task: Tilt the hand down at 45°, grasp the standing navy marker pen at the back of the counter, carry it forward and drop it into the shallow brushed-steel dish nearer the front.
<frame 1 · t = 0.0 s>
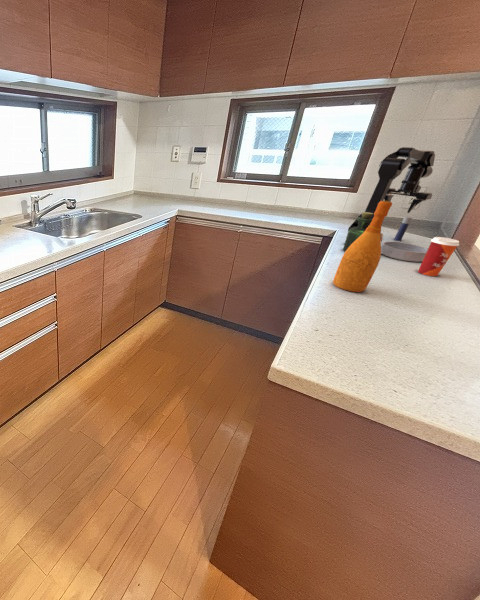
hand: (396, 211, 165), 15 cm above the worktop, tool pointing down, fingers open, 9 cm apart
paper cup: (427, 273, 129), on the worktop
marker: (397, 240, 171), on the worktop
dish: (401, 256, 147), on the worktop
wine bottle: (347, 287, 115), on the worktop
potion bottle: (350, 252, 151), on the worktop
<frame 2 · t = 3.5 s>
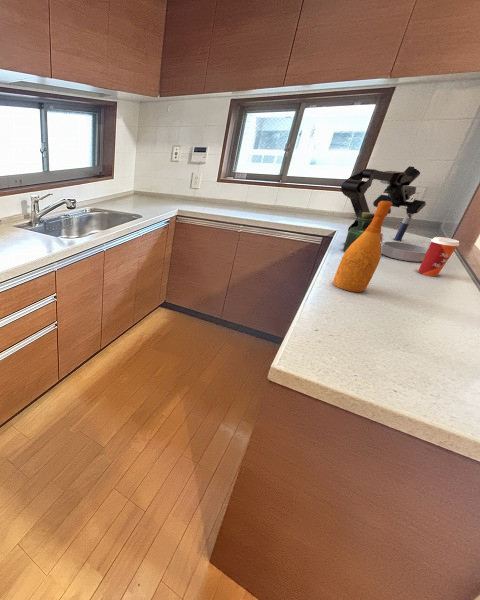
hand: (400, 215, 162), 13 cm above the worktop, tool tilted 45°, fingers open, 9 cm apart
nothing on the worktop moved.
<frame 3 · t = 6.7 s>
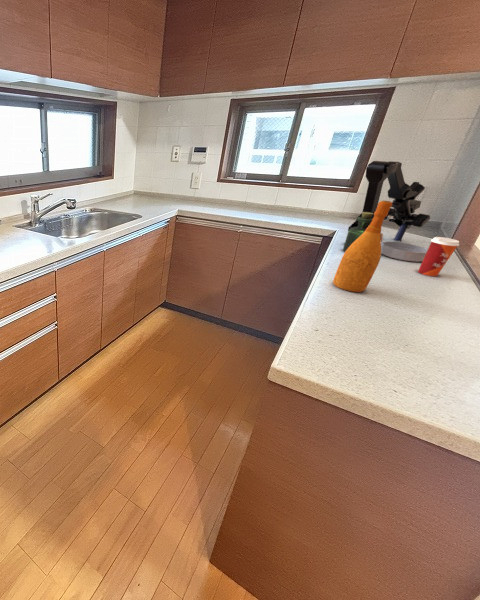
hand: (405, 227, 168), 7 cm above the worktop, tool tilted 45°, fingers closed on marker, 3 cm apart
marker: (397, 240, 171), on the worktop, touching gripper
everything else where it was.
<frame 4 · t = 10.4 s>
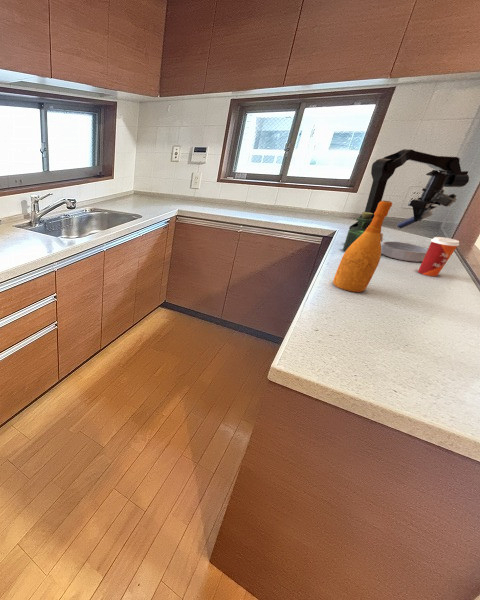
hand: (417, 221, 153), 13 cm above the worktop, tool pointing down, fingers closed on marker, 3 cm apart
marker: (399, 226, 159), point 9 cm above the worktop, tilted 45°, touching gripper
everything else where it was.
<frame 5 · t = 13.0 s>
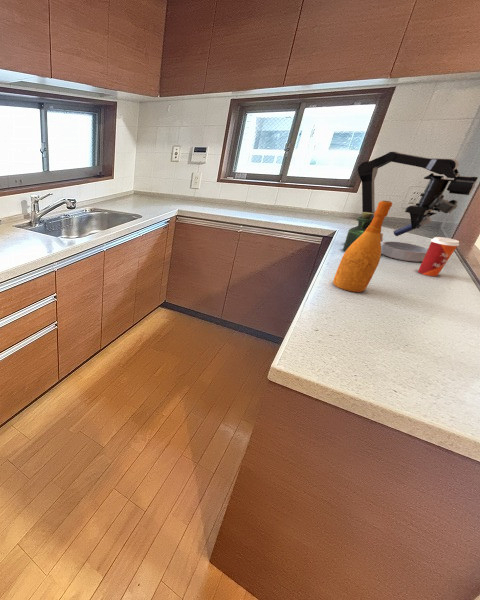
hand: (414, 228, 142), 13 cm above the worktop, tool pointing down, fingers closed on marker, 3 cm apart
marker: (395, 233, 148), point 9 cm above the worktop, tilted 45°, touching gripper
everything else where it was.
when the fingers open (5 cm above the worktop, at t = 15.4 s): marker stays where it is and tips over, resting on dish.
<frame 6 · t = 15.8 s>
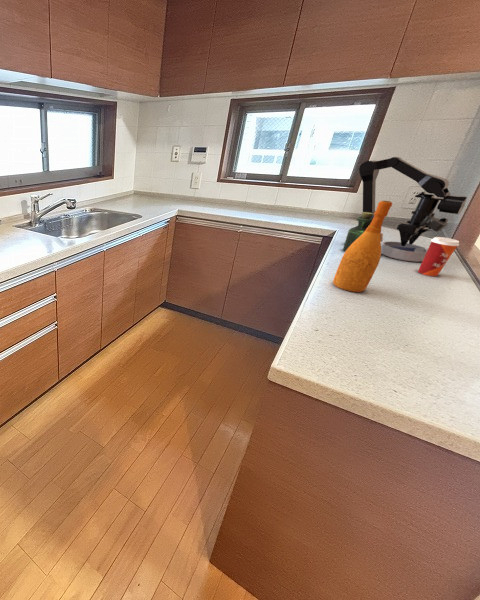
hand: (406, 245, 145), 5 cm above the worktop, tool pointing down, fingers open, 7 cm apart
marker: (389, 249, 150), point 2 cm above the worktop, tilted 79°, touching dish
everything else where it was.
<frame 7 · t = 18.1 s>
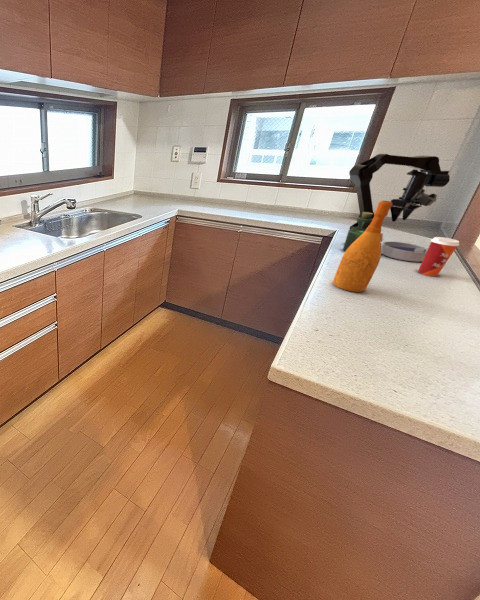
hand: (398, 220, 153), 13 cm above the worktop, tool pointing down, fingers open, 9 cm apart
nothing on the worktop moved.
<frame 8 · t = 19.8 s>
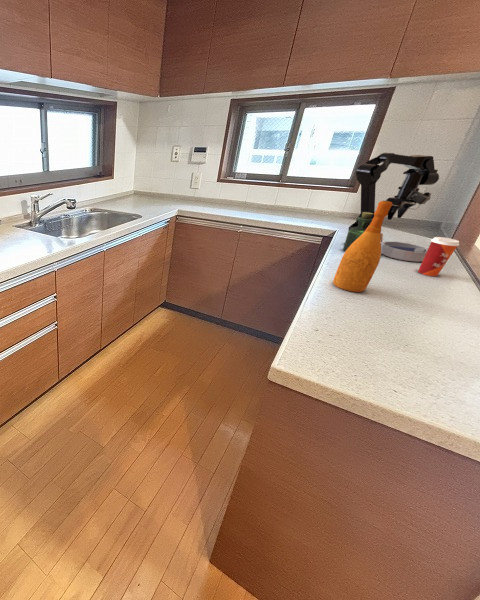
hand: (394, 218, 157), 13 cm above the worktop, tool pointing down, fingers open, 9 cm apart
nothing on the worktop moved.
at the end: marker inside the target area in the dish (5.1 cm from its centre), point 1.9 cm above the dish's base; the gripper is holding nothing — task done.
